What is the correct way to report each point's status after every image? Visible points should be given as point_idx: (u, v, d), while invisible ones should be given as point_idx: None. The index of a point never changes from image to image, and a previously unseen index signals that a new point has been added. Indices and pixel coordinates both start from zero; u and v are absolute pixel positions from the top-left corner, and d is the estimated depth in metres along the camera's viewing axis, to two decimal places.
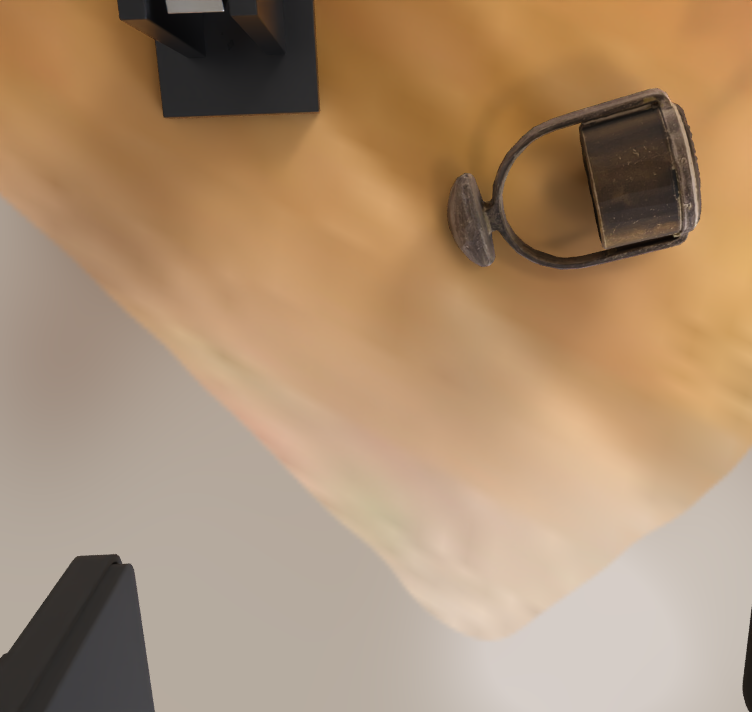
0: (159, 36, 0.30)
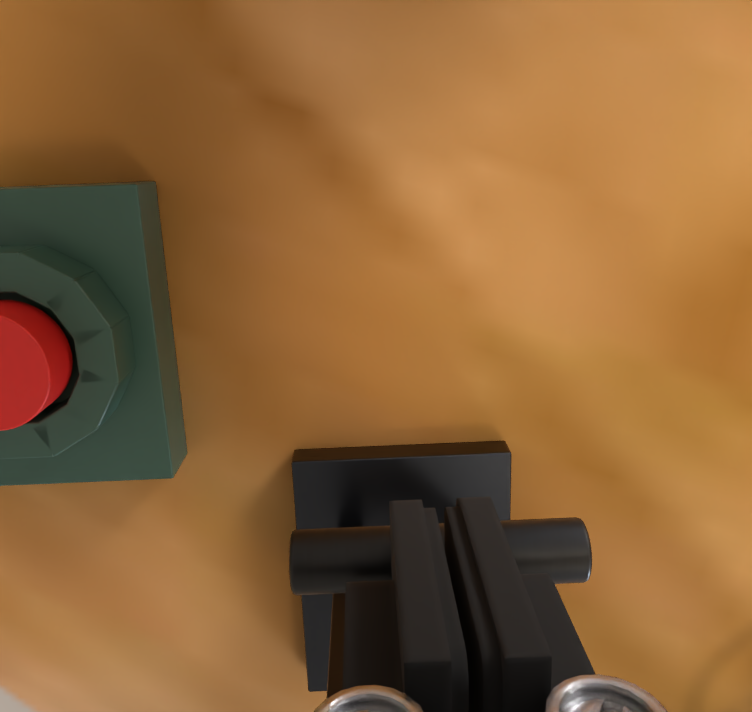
0: None
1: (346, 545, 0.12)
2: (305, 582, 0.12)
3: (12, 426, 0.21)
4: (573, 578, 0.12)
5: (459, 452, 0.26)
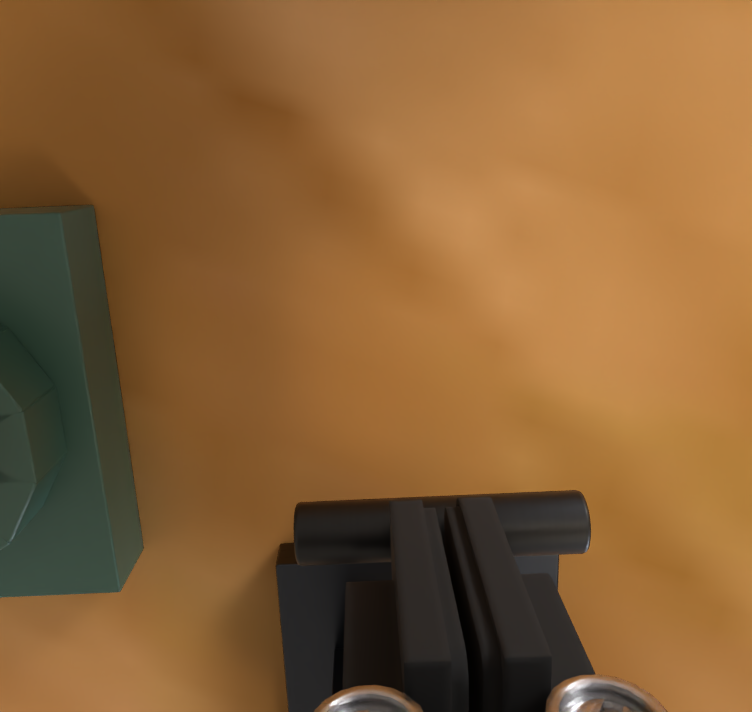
0: None
1: (349, 502, 0.12)
2: (308, 531, 0.12)
3: None
4: (574, 532, 0.12)
5: None
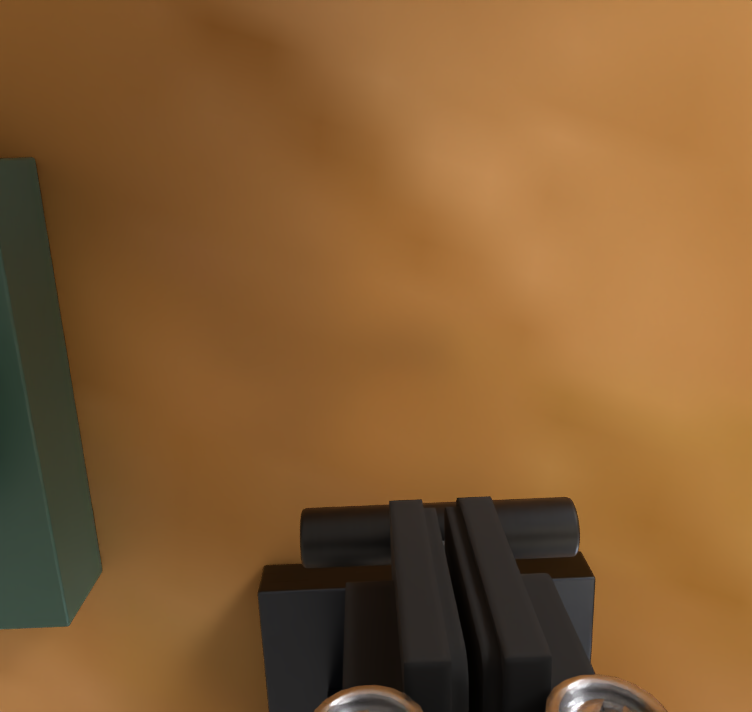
0: None
1: None
2: (313, 523, 0.13)
3: None
4: (563, 525, 0.13)
5: None
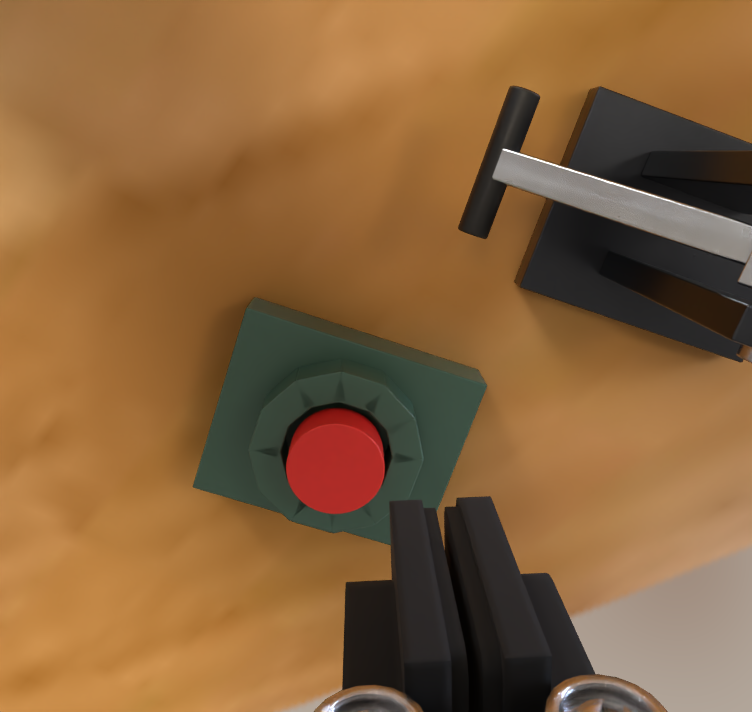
0: None
1: (467, 203, 0.25)
2: (463, 224, 0.25)
3: (382, 472, 0.26)
4: (516, 95, 0.24)
5: (578, 135, 0.27)
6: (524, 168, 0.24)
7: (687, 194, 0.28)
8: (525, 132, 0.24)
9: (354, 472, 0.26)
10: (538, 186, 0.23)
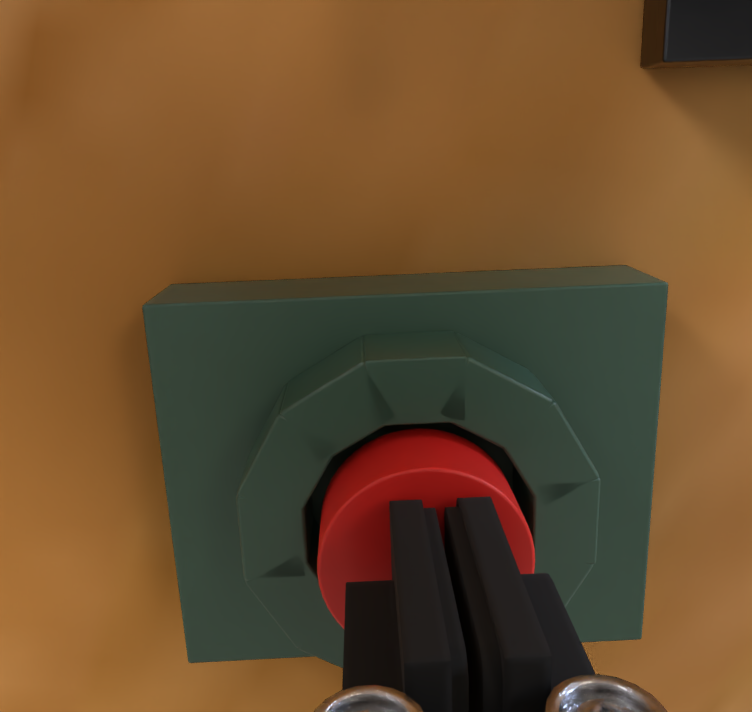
0: None
1: None
2: None
3: (527, 539, 0.12)
4: None
5: None
6: None
7: None
8: None
9: None
10: None
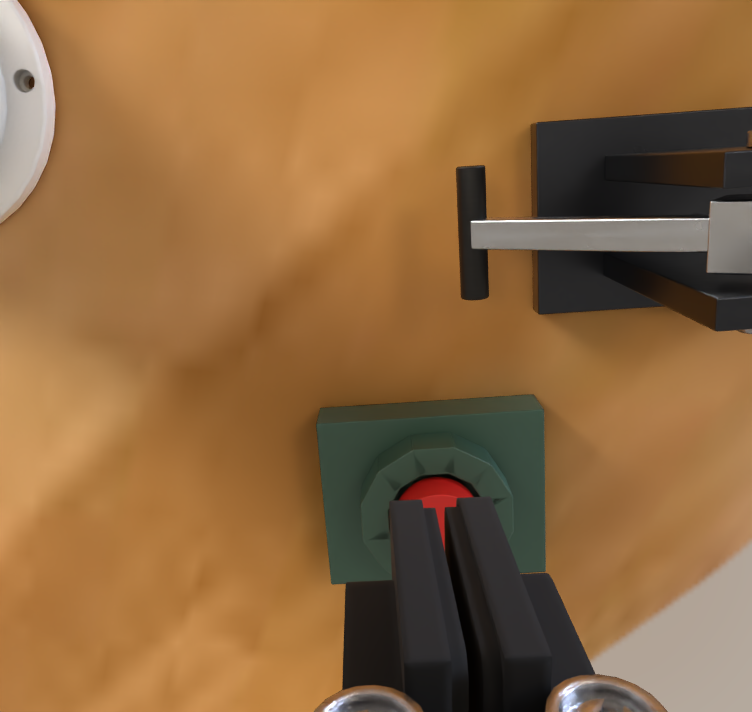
0: None
1: (460, 273, 0.28)
2: (464, 293, 0.28)
3: None
4: (464, 174, 0.27)
5: (535, 169, 0.30)
6: (494, 232, 0.26)
7: None
8: (484, 200, 0.27)
9: None
10: (511, 242, 0.26)
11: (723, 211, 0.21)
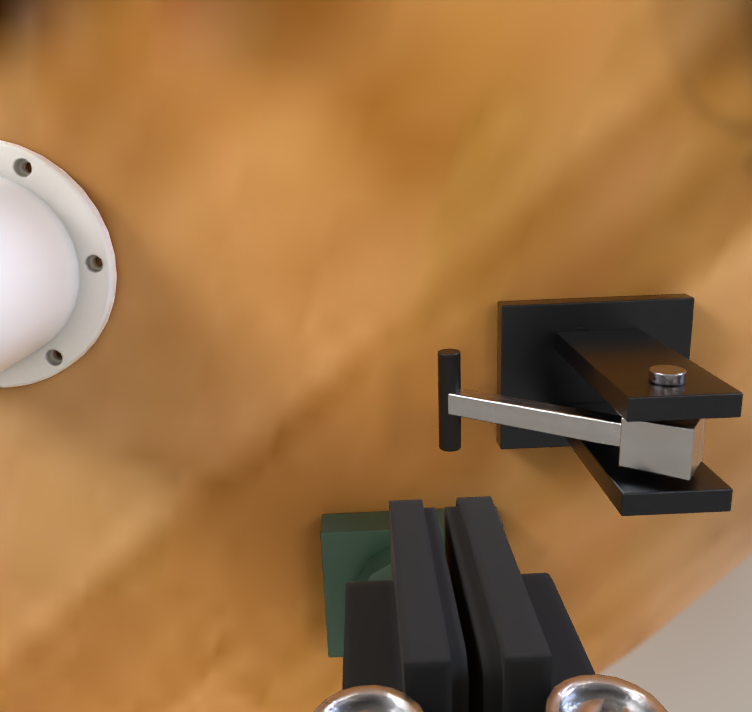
0: None
1: (439, 428, 0.36)
2: (441, 445, 0.36)
3: None
4: (444, 359, 0.34)
5: (500, 340, 0.38)
6: (466, 405, 0.34)
7: None
8: (459, 377, 0.35)
9: None
10: (479, 415, 0.34)
11: (630, 426, 0.29)
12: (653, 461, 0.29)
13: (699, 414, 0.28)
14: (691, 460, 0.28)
